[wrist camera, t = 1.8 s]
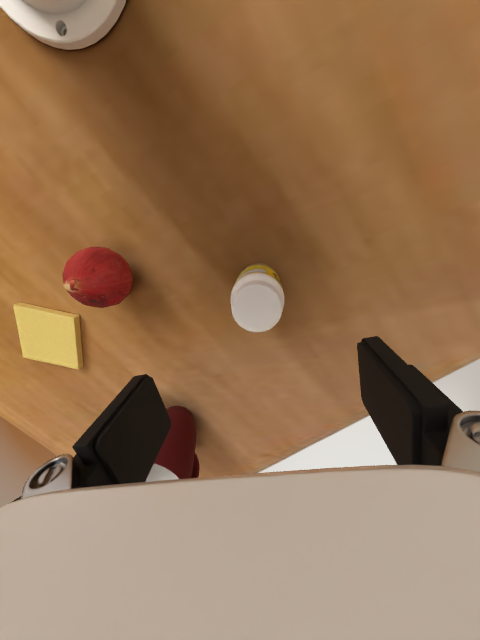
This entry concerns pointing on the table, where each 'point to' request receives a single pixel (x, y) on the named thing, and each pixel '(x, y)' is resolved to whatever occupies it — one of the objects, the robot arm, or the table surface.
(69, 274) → the onion
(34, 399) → the table surface
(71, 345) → the sticky note pad
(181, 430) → the mug
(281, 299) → the supplement bottle
